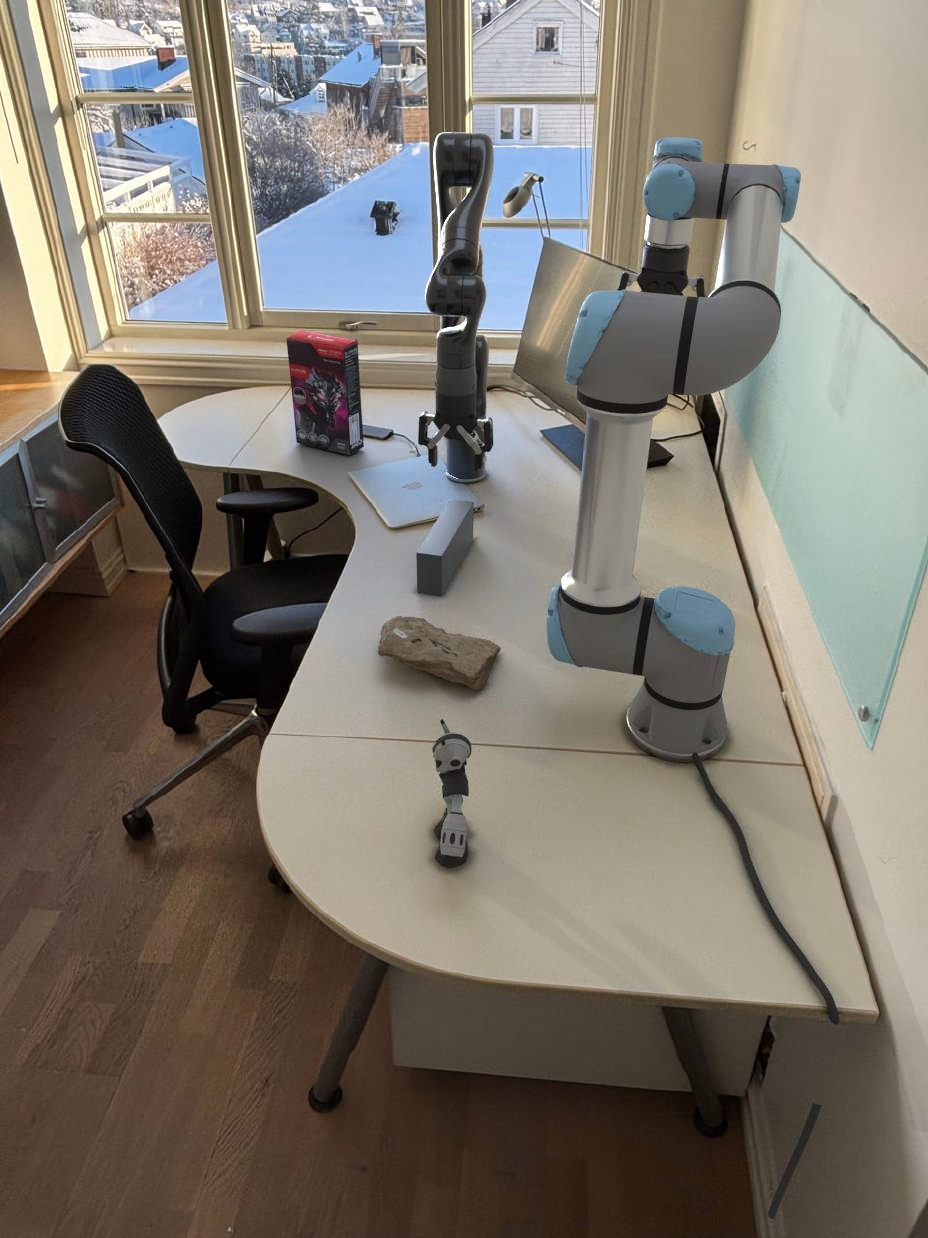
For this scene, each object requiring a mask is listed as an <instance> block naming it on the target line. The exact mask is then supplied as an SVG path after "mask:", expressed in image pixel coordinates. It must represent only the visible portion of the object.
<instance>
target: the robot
mask: <svg viewBox="0 0 928 1238" xmlns="http://www.w3.org/2000/svg"><path fill="white" fill-rule="evenodd" d="M439 722H440V725H441V727H442V730H443V733H444V734H442V735H441V736H439V737H438V738H437V739H436V740H435V741H434V742H433V745H432V747H431V752H432V757H433V758H434V761H435V771H436V772H437V773H439V774H438V776H439V779H440V781H441V783H442V785H441V792H442V794H441V795H442V799H443V801H444V802H445V805H446V807H445V808H444V812H443V813H442V816H441V819H440V820H439V821H438V823H437V824H435V826H434V828H433V833H434V834H435V836H436V838H437V839H438V840H439V841H440V842H439V845H438V848H437V849H436V852H435V855H434V859H435V860H436V861H437V862H438V863H439V865H441V866H443V867H447V868H453V867H457V866H459V865H461V864H463V863H466V862H467V859H468V856H469V854H470V853H469V844H468V840H467V837H468V823H467V818H466V815H464V813H463V810H462V806H463V804H464V798H463V797H469V795H470V794H469V793H470V788H469V787H470V786H469V779H468V776H467V774H466V766H467V765H468V762H467V760H468V759H469V758H470V757H471V755H472V749H473V748H472V743H471V741H470V739H468V738H467V736H465V735H464V734H462V733H460V732H457V731H450V729H449V727H448V725H447V723H446V722H445V720H444V719H443V718H441V719H440V720H439Z"/></svg>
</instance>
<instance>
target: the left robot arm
mask: <svg viewBox="0 0 928 1238" xmlns="http://www.w3.org/2000/svg"><path fill="white" fill-rule="evenodd" d="M494 160H495V153H494V143H493V141H492V138H491V137H490V135H489V134H486V133H481V132H456V131H455V132H454V131H451V132H450V131H449V132H446V131H445V132H440V133H439V134H437V136H436V137H435V140H434V145H433V170H434V171H433V172H434V185H435V195H436V206H437V207H436V209H437V224H438V225H437V226H438V227H437V229H438V231H437V232H438V233H437V237H438V240H437V262H436V264H435V266H434V269H433V271H432V273H431V275H430V276H429V279H428V281H427V284H426V288H425V293H424V301H425V305H426V307H427V309H428V311H429V312H430V313H431V314H432V315H434V316H436V317H440V321H439V322H440V323H439V325H440V326H439V331H438V332H437V335H436V340H435V341H436V342H435V343H436V367H435V375H434V377H435V379H434V387H435V414H431V413H429V412H428V411H426V410H425V411H423V412H422V413H421V414H420V416H419V417H418V431H417V432H418V433H417V435H418V437H417V443H418V445H419V446H424V447H426V448H427V460H428V464H430V465H431V467H432V468H436V467H437V465H438V463H439V462H438V457H439V456H438V454H439V453H438V451H439V449H438V443H439V442H440V441H441V440H442V438H443V437H444V439H445V438H446V442H445V443H446V444H445V445H446V446H445V447H446V450H445V451H446V452H445V453H446V454H445V455H446V456H445V457H446V461H445V462H446V464H445V465H446V466H445V467H446V468H445V469H446V470H445V477H447V479H448V480H450V481H453V482H455V483H456V482H457V483H461V484H462V483H463V484H468V483H471V484H472V483H477V482H479V481H482V480H483V479H484V478H485V477H486V471H487V470H486V463H487V459H488V458H487V457H488V456H487V453H490V452H491V451H492V449H493V447H494V422H493V418H492V417H487V410H488V409H487V407H488V406H487V405H488V404H487V399H488V398H487V397H488V395H487V391H488V390H487V389H488V374H489V372H488V371H489V361H490V360H489V359H490V344H489V340H488V338H487V337H486V336H485V335H484V334H477V333H478V328H479V324H480V320H481V317H482V314H483V310H484V309H485V305H486V301H487V295H488V293H487V291H488V290H487V285H486V283H485V281H484V260H485V259H484V257H485V254H484V249H483V245H482V244H481V233H482V228H483V227H482V226H483V221H484V216H485V212H486V208H487V205H488V200H489V195H490V191H491V185H492V180H493V173H494V162H495V161H494ZM454 188H459V189H460V188H461V189H462V188H463V189H470V190H469V192H468V193H467V194H466V195H465V196H464V198H463V199H462V200H461V201H460V202H459V204H458V202H457V198H456V195H455V191H454ZM462 317H463V318H465V319H464V321H463V322H462V323H461V324H459V322H460V320H461V319H462ZM432 422H433V424H434V425H435V427H436V428H437V429H438V430H437V431H436V432H435V434H434V435H433V436H432V437H429V436H428V435H429V434H428V433H429V432H428V431H429V426H430V425H431V424H432ZM486 452H487V453H486ZM446 471H447V472H448V473H449V474H450V475H452V476H454V477H456V478H458V479H456V478H453V477H451V476H449V475H448V474H447V472H446Z"/></svg>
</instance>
